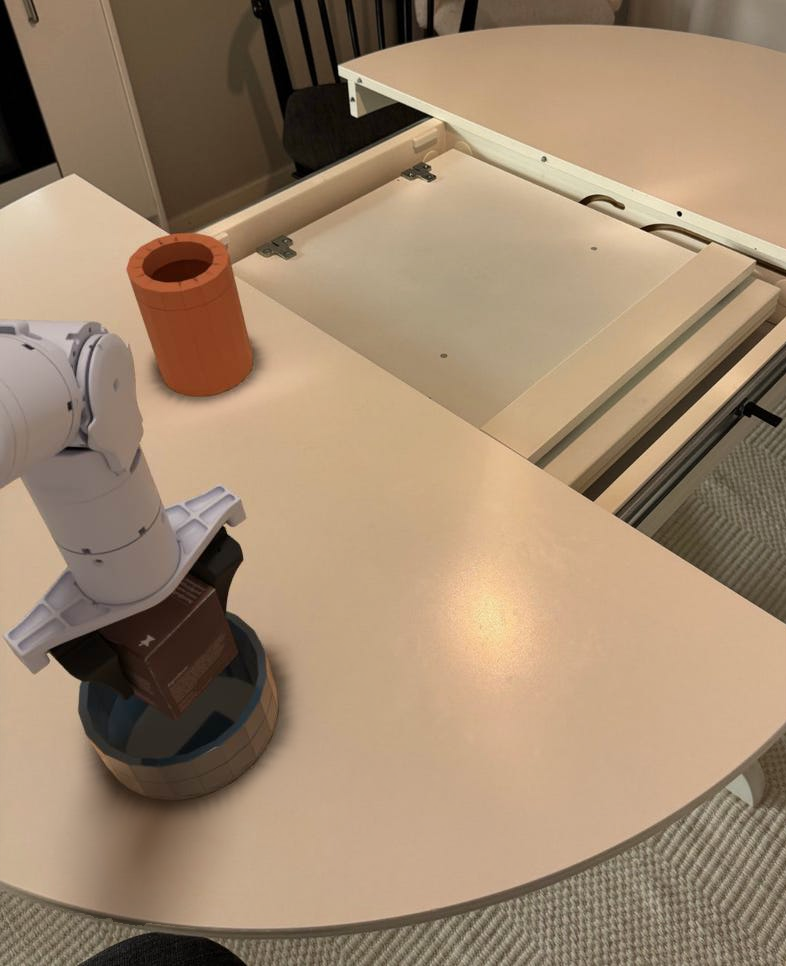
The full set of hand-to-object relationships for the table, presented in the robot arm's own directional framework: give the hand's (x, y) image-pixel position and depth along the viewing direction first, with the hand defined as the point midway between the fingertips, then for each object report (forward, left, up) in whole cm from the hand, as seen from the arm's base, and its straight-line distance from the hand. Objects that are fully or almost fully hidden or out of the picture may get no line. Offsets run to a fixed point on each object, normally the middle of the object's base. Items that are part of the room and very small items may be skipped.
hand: (168, 650), depth 61 cm
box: (0, 0, -2) cm, 2 cm away
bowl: (0, +1, -9) cm, 9 cm away
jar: (+24, +30, -9) cm, 39 cm away
